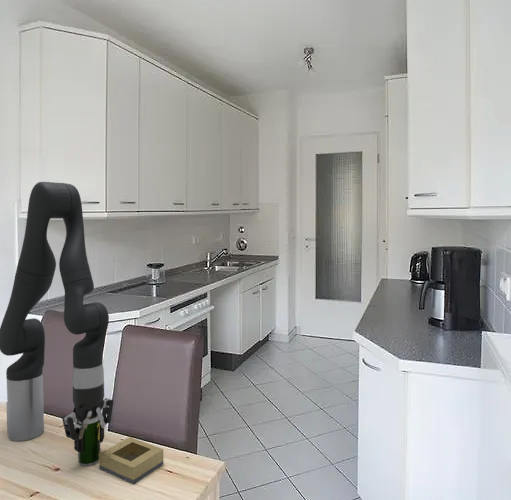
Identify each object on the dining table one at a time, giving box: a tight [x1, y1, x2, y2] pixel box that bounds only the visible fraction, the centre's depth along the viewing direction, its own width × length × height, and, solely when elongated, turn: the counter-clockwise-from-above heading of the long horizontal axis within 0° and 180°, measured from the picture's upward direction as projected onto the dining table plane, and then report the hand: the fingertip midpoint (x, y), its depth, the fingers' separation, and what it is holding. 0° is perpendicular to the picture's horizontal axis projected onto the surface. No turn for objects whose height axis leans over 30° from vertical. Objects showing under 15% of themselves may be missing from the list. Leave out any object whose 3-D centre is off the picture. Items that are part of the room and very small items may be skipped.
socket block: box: [98, 436, 164, 485], centre depth 111 cm, size 12×10×4 cm
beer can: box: [77, 415, 101, 467], centre depth 113 cm, size 5×5×12 cm
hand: (89, 446), depth 113 cm, fingers closed on beer can, 5 cm apart
